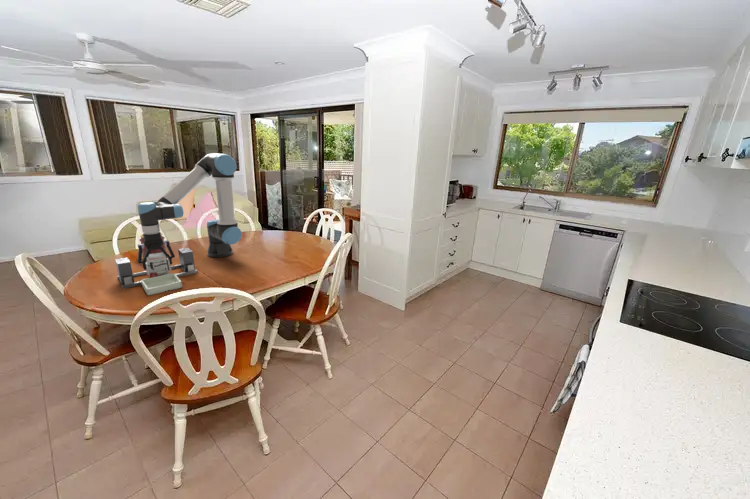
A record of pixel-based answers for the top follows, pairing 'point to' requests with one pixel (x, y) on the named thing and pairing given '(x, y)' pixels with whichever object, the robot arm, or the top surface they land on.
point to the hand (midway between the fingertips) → (159, 272)
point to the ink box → (157, 264)
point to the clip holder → (185, 264)
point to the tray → (161, 283)
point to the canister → (152, 250)
